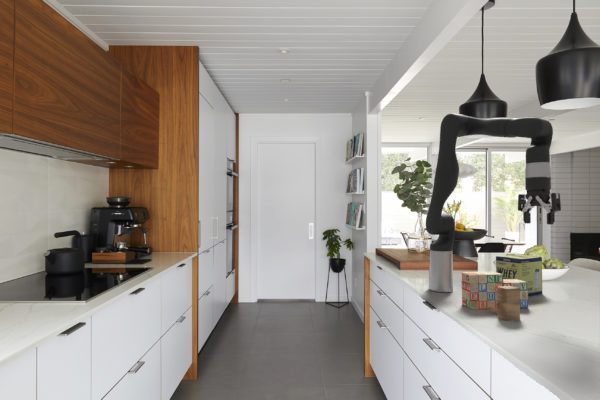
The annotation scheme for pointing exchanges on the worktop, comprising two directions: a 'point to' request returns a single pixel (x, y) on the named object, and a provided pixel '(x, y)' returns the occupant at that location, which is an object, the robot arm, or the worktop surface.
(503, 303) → the wooden mallet
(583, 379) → the worktop surface
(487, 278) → the stack of blocks
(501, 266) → the protein box
